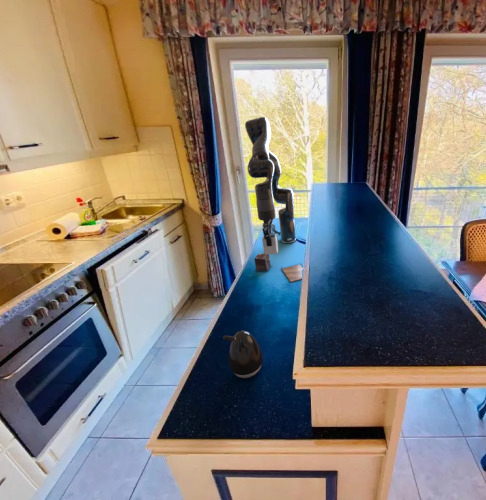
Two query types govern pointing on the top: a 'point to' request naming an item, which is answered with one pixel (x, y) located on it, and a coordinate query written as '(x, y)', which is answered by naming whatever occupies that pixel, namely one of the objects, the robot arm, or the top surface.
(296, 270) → the wooden board
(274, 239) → the white and blue block
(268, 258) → the box
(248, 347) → the pump dispenser
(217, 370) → the top surface
